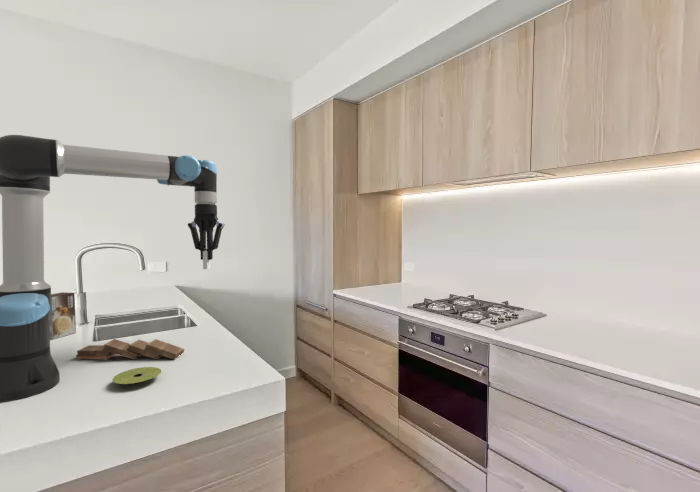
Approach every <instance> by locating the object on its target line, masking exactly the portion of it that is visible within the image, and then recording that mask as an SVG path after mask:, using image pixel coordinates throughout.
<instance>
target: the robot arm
mask: <svg viewBox="0 0 700 492" xmlns="http://www.w3.org/2000/svg"><path fill="white" fill-rule="evenodd" d="M65 174H66V175H80V176H81V175H82V176H96V177H97V176H98V177H100V176H101V177H114V178H128V179H143V180H144V179H145V180H146V179H147V180H156V182H157V183H158V184H160V185H166V186H179V187H180V186H181V187H190V188H192V187H193V188H194V203H195V205H194V218H193V221H191V222H188V223H187V226H188V229H190V233H191V237H192V241H193V245H194V248H195V249H196V250H199V252H200V260H202V269H203V270H210V269H211V260H213V258H214V257H213V256H214V255H213V253H214V252H213V251H215V250H217V249H218V248H219V244H220V240H221V235H222V231H223V229H224V227H225V223H223V222H221V221H219V218H218V206H217V205H216V204H217V202H218V197H217V195H218V194H217V181H218V180H217V177H218V176H217V175H218V173H217V165H216V163H215V162H214V161H212V160H208V159H207V160H206V159H197V158H196V157H194V156H192V155H188V154H187V155H186V154H185V155H180V156H177V155H176V156H174V155H166V154H156V153H147V152H136V151H127V150H116V149H106V148H101V147H100V148H98V147H89V146H80V145H79V146H77V145H69V144H63V143H62V142H61V141H59V140H58V139H51V138H50V139H49V138H43V137H37V136H31V135H30V136H29V135H23V134H8V135H3V136H0V196H1V224H2V225H1V229H2V230H1V231H2V233H1V234H2V236H1V239H2V242H1V243H2V284H0V402H8V401H14V400H18V399H19V400H20V399H23V398H27V397H31V396H34V395H37V394H40V393H44V392H46V391H48V390H50V389H53V387H55V386H57V385H58V384H59V383H60V381H61V379H60V371H59V369H58V367H57V365H56V362H55V360H54V358H53V357H52V354H51V339H50V318H51V316H52V311H53V310H52V305H51V294H52V286H51V285H50V284H49V283H47V282H46V281H45V251H44V250H45V249H44V248H45V244H44V243H45V238H44V198H45V197H46V196H48V195H50V194H51V177H53V178H61V176H63V175H65ZM197 227H198V230H197ZM215 227H216V229H215V232H214V228H215ZM213 233H214V234H213Z"/></svg>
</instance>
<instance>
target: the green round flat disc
mask: <svg viewBox="0 0 700 492" xmlns="http://www.w3.org/2000/svg"><path fill="white" fill-rule="evenodd" d="M160 374H162V369H161V368H159V367H154V366H142V367H136V368H135V367H134V368H131V369H128V370H125V371H122V372H119V373H118V374H116V375H115V376H113V378H112V380H111V381H112V382H113V383H114V384H119V385H120V384H121V385H129V384H135V383H141V382H147V381H149V380H152V379H153V378H156V377H158V376H159V375H160Z"/></svg>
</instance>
